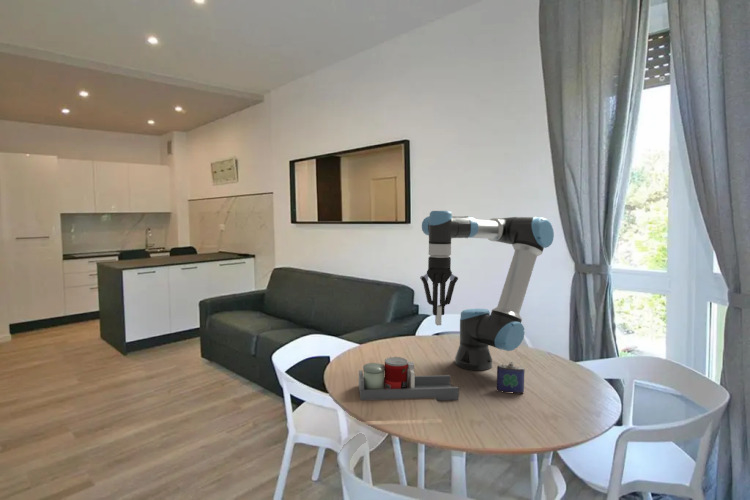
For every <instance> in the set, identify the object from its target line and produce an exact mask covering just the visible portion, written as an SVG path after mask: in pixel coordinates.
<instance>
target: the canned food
mask: <svg viewBox="0 0 750 500" xmlns="http://www.w3.org/2000/svg"><path fill="white" fill-rule="evenodd" d="M408 362H409V361H408V359H406V358H405V357H400V356H392V357H391V356H390V357H387V358H385V359H384V366H385V371H384V377H385V379H384V389H405V388H407V381H408Z"/></svg>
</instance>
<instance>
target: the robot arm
mask: <svg viewBox="0 0 750 500" xmlns="http://www.w3.org/2000/svg"><path fill="white" fill-rule="evenodd" d="M452 213H453V212H452V211H451V210H432V211H430V212H429V216H426V217H424V218H423V220H422V222H421V231H422V232H423V234H425V235H426V236H428V255H429V256H428V262H427V263H428V265H427V266H428V267H427V271H426V273H425V274H424V275H421V276H420V280H421V282H422V284H423V289H424V293H425V297H426V302H427V303H428V305H431V306H432V315H433V316H435V317H434V318H435V319H434V320H435V322H434V324H435V325H436V326H442V317H443V316H444V315H445V308H446V306H447V305H450V304H451V302H452V297H453V294H454V293H453V292H454V289H455V285H456V283H457V282H458V280H459V277H458V276H456V275H454V274H453V272H452V270H451V265H452V264H451V261H452V258H451V255H452V239H468V238H472V239H488V240H489V241H490V242H498V243H503V244H507V245H512V247H513V249H514V253H513V256H512V257H511V258H512V259H511V262H510V265H509V268H508V272H507V275H506V278H505V281H504V284H503V287H502V291H501V294H500V297H499V301H498V303H497V306H496V307H495V308H493V309H492V310H491V312H490V310H489V309H487V308H469V309H465V310H461V312H460V316H459V317H460V319H459V346H458V349H457V352H456V354H455V357H454V363H455V365H456V366H458V367H459V368H461V369H465V370H470V371H486V370H489V369H491V368H493V358H492V355H491V352H490V348H489V346H490V347H492V348H496V349H498V350H501V351H506V352H512V351H514V350H516V349H518V347H520V345H521V344H522V342H523V340H524V337H525V333H526V332H525V326H524V325H523V323H522V321H523V319H522V316H521V315H520V313H521V310H522V307H523V303H524V300H525V297H526V294H527V290H528V287H529V283H530V280H531V277H532V273H533V271H534V267H535V264H536V260H537V257H539V256H541V255H542V254H543V251H544V249H547V248H549V247H550V246H551V245H552V244H553V242H554V238H555V237H554V236H555V235H554V228H553V225H552V223H551V221H549V219H547V218H546V217H538V216H533V217H532V216H528V217H527V216H526V217H525V216H524V217H523V216H512V217H503V218H498V217H496V218H495V217H493V218H490V219H478V218H475V217H473V216H468V215H467V216H466V215H465V216H453V214H452ZM429 279H430V281H431V282H432V295H431V290H430V287H429V286H430V285H429V283H428V282H429ZM449 280H450V281H449ZM448 281H449V284H448V288H447V291H446V285H447V282H448ZM438 292H439V293H438ZM438 297H439V298H438ZM438 302H439V304H438Z"/></svg>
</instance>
